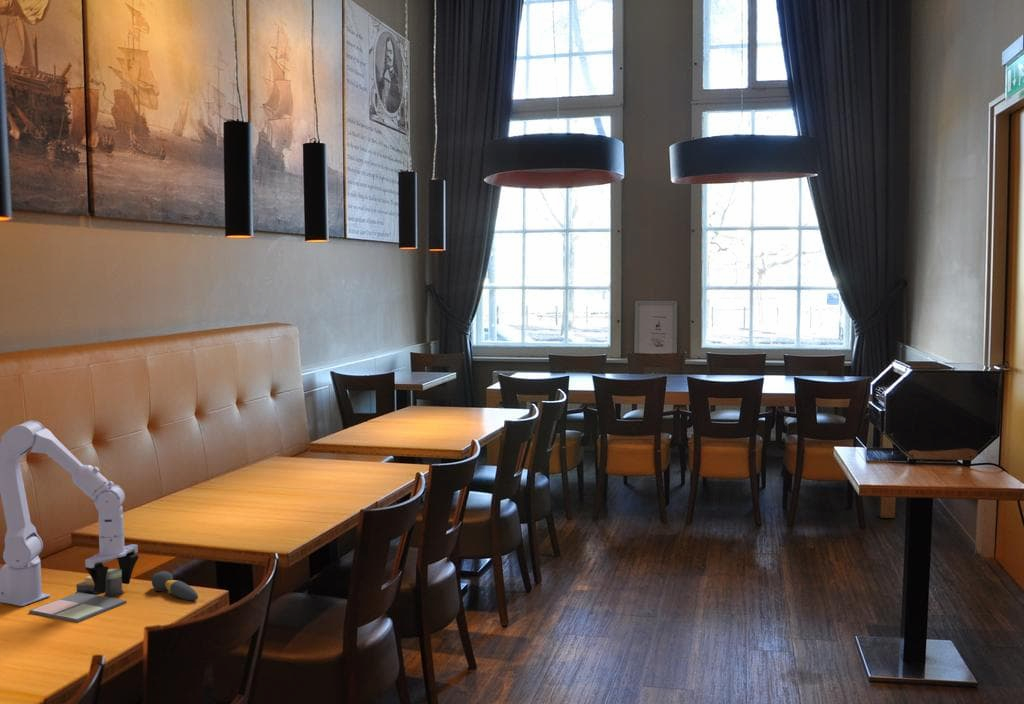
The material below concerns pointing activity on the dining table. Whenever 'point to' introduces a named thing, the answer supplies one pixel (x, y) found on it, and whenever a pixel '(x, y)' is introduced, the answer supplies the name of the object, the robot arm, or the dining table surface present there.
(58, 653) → the dining table surface
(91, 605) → the picture board
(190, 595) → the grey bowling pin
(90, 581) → the button
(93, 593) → the button housing
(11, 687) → the dining table surface
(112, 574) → the green lidded grey jar
